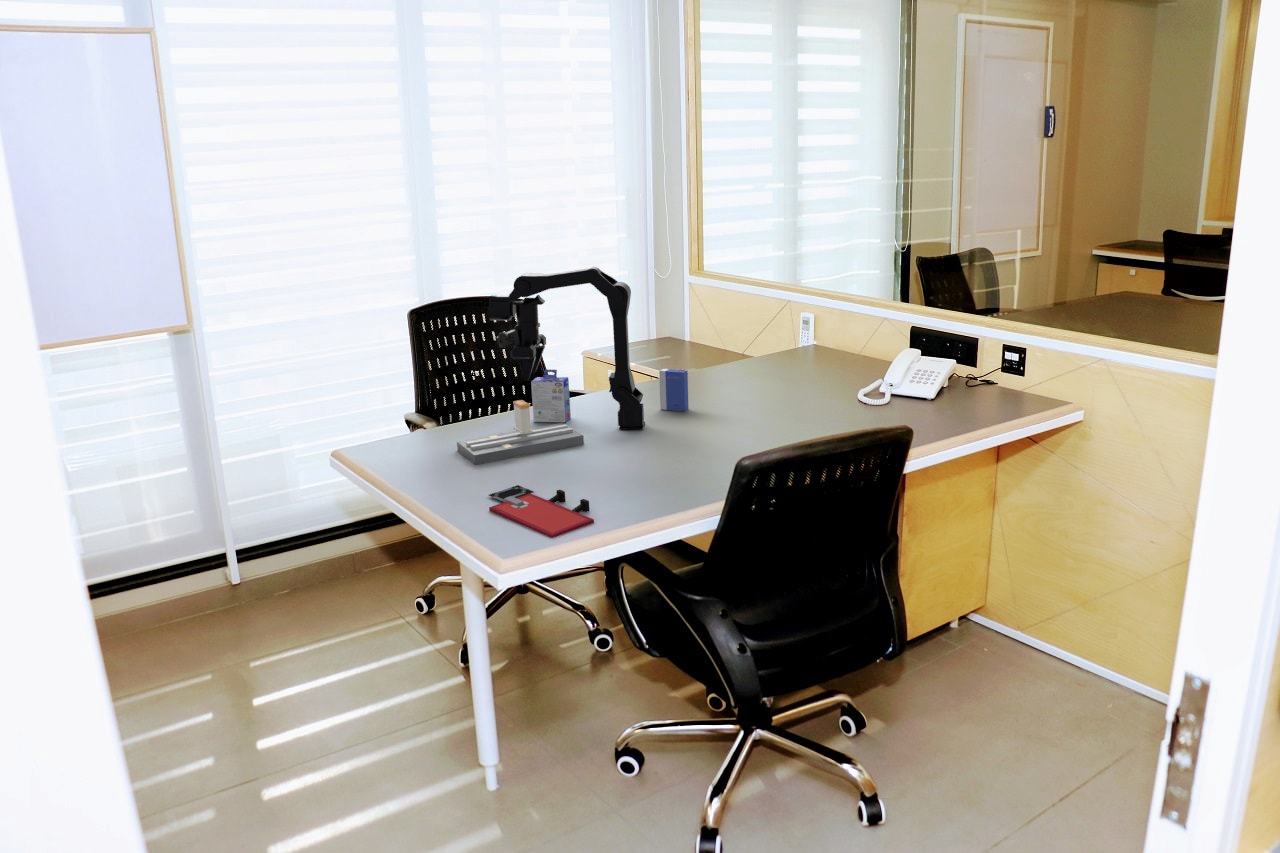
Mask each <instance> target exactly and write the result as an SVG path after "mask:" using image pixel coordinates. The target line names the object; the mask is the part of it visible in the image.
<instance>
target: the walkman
mask: <svg viewBox="0 0 1280 853" xmlns="http://www.w3.org/2000/svg"><path fill="white" fill-rule="evenodd" d="M658 372H659V402H660V403H659V404H660V410H661V409H663V410H665V411H674V412H684V411H685V412H687V411H688V410H689V409H690V408H689V376H688V375H689V374H688V370H687V369H684V368H679V369H671V368H663V369H660V370H659V371H658Z"/></svg>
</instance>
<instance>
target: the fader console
mask: <svg viewBox="0 0 1280 853" xmlns="http://www.w3.org/2000/svg"><path fill="white" fill-rule="evenodd" d="M531 430H532V431H533V432H532V433H526V436H521V433H519V432H518V431H516V430H514V431H508V432H504V433H498V434H492V435H487V436H479V437H476V438H469V439H463V440H457V441H456V448H457V452H459V454H462V455H463V456H464V457H465V458H466V459H467V460H469V461H470V462H471V463H472V464H474V465H481V464H482V465H483V464H487V463H491V462H496V461H503V460H508V459H513V457H514V458H517V457H524V456H529V454H530V455H534V453H535V454H538V453H539V452H540V453H545V452H550V450H551V451H555V450H561V449H565V448H572V447H576V446H582V445H584V444H585V440H584V439H585V438H584V435H583V434H582V433H580V432H579V431H577V430H575V429H573V428H572V427H571V426H570V427H569V426H568V425H567V424H565V423H564V422H558V423H555V424H554V423H553V424H549V425H544V426H538V427H531Z"/></svg>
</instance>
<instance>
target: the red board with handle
mask: <svg viewBox="0 0 1280 853" xmlns="http://www.w3.org/2000/svg"><path fill="white" fill-rule="evenodd" d="M555 492H556V495H554V496H552V497H551V498H549V499H548V500H547V499H546V498H543V497H540V496H538V495H536V494H533V493H535V491H533V490H532V489H528V488H526V487H523V486H522V485H518V484H517V485H514V486H511V487H508V488H505V489H502V490H498V491H496V492H492V493H490V494H488V496H490V497H492V498H494V499H496V500H498V501H501V503H498V504H495V505H492V506H489V512H490V513H493V514H495V515H498V516H500V517H502V518H504V519H507V520H508V521H512V523H513V522H514V523H516V524H519V525H520V526H523V527H525V528H528V529H530V530H533V531H535V532H537V533H540V534H542V535H545V536H546V537H549V538H551V539H552V538H556V537H558V536H559V537H560V536H561V535H565V534H567V533H570V532H572V531H574V530H575V531H576V530H577V529H581V528H584V527H586V526H589V525H592V524H594V523H595V520H594V518H592V517H589V516H588V515H584V514H582V513H580V512H584V511H585V513H587V511H588V512H590V501H589V500H587V499H585V498H582V499H580V500H579V502H580V503H579V505H577V506H576V507H574V508H573V509H570V508H567V507H565V506H562V505H560V504H557V502H558V501H559V503H563V504H564V503H566V491H564V490H561V489H557V490H556V491H555Z"/></svg>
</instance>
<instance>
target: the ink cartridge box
mask: <svg viewBox="0 0 1280 853" xmlns="http://www.w3.org/2000/svg"><path fill="white" fill-rule="evenodd" d="M557 372H558V370H557V369H547V368H546V369H544V372H543V373H544V374H543V376H542V377H540V376H539V377H538V376H537V377H535V378H534V379H533V380H531V382H530V383H531V399H532V400H531V402H532V414H533V415H532V416H533V418H532V420H533V422H534V423H567V422H569V420H570V419H572V418H571V399H570V397H571V396H570V382H569V377H568V376H562V377H561V376H557ZM549 373H554V374H549Z"/></svg>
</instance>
